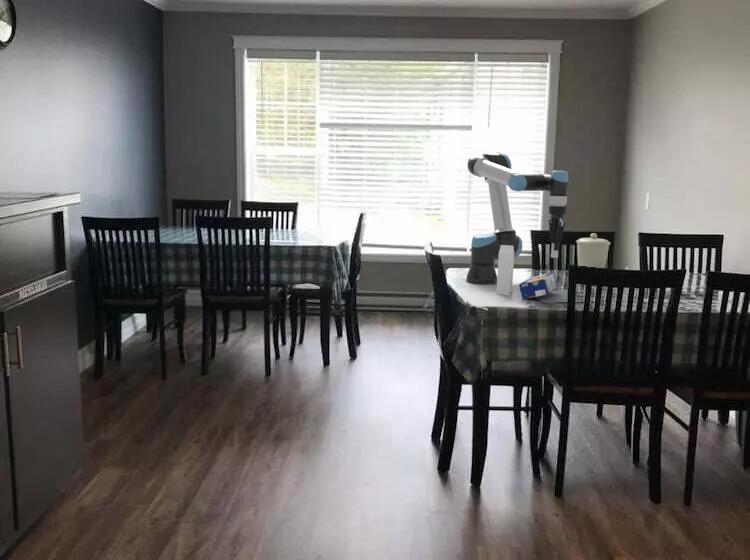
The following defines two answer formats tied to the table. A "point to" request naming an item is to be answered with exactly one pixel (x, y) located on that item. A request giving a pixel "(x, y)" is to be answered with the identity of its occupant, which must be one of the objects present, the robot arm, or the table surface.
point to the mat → (553, 297)
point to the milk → (505, 269)
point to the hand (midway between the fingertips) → (554, 257)
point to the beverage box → (538, 285)
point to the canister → (592, 251)
